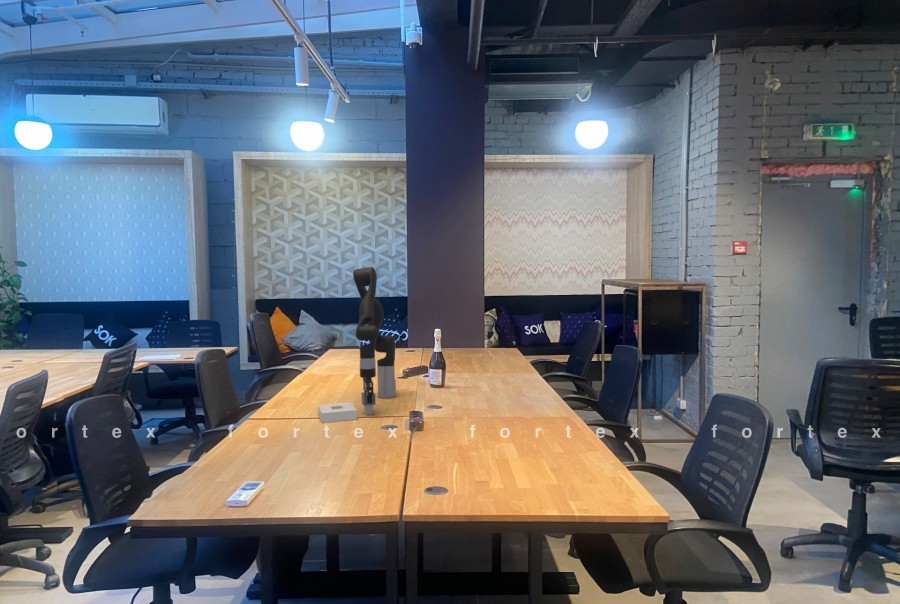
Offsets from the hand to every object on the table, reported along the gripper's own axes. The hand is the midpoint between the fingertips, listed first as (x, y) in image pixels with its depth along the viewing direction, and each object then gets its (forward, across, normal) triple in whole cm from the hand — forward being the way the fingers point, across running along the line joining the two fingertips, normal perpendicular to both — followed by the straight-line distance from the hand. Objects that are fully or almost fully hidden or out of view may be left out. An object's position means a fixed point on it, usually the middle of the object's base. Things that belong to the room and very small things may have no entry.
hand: (368, 401), depth 283 cm
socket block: (+6, 0, +15) cm, 16 cm away
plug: (+6, 0, 0) cm, 6 cm away
